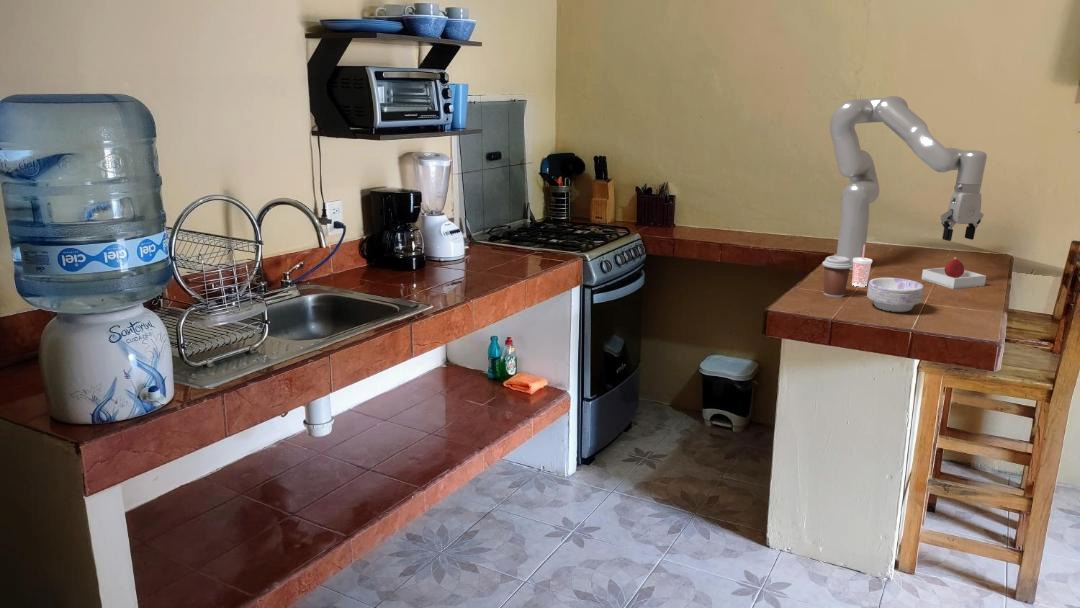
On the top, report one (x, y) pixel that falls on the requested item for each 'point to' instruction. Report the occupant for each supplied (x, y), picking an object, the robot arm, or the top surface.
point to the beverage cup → (861, 270)
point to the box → (963, 281)
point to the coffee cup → (836, 275)
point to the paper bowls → (895, 293)
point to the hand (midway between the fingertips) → (957, 239)
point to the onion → (954, 268)
